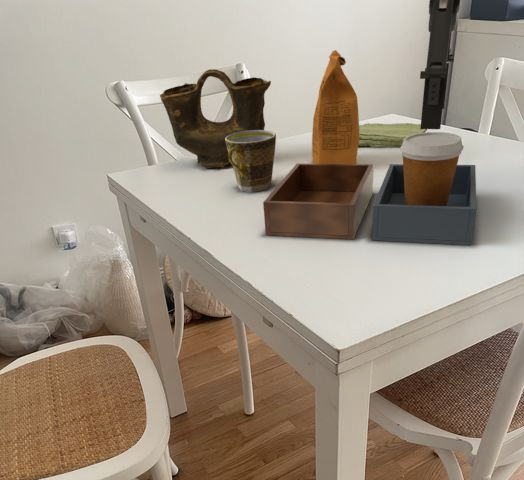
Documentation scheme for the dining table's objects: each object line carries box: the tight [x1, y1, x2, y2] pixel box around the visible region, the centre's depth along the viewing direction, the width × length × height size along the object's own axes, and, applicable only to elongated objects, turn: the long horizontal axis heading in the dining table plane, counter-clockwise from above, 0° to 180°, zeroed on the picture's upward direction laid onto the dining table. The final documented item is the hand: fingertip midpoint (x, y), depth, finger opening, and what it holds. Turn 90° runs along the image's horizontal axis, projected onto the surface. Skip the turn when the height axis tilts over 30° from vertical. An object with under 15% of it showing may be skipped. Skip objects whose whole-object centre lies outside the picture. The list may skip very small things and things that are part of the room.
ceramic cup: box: [225, 129, 277, 193], centre depth 107 cm, size 13×10×10 cm
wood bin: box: [262, 162, 375, 240], centre depth 94 cm, size 15×22×6 cm
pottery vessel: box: [159, 68, 272, 169], centre depth 122 cm, size 25×11×20 cm, turn 89°
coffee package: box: [311, 49, 360, 164], centre depth 113 cm, size 10×12×22 cm
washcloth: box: [358, 122, 428, 148], centre depth 132 cm, size 13×18×3 cm
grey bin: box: [371, 163, 477, 246], centre depth 89 cm, size 15×22×6 cm
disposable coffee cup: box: [399, 131, 465, 206], centre depth 87 cm, size 10×10×12 cm
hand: (432, 118), depth 82 cm, fingers open, 13 cm apart
